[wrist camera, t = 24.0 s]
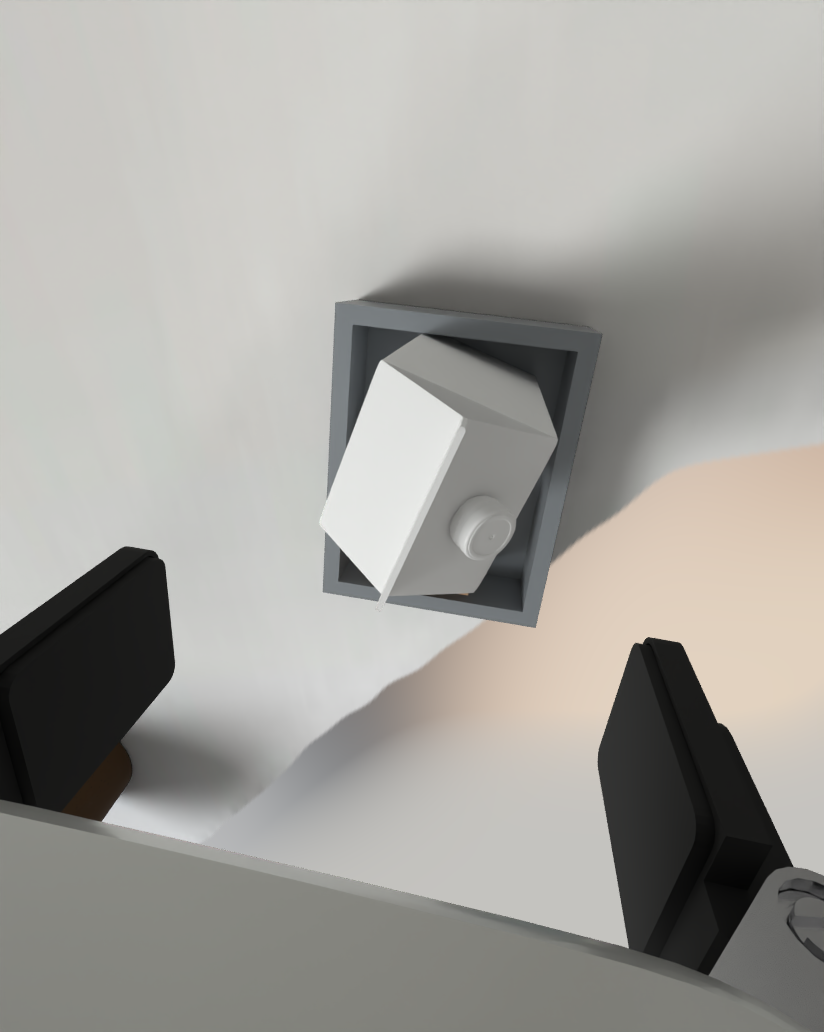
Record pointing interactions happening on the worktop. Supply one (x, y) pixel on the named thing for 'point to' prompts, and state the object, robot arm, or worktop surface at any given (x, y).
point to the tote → (526, 558)
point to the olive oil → (102, 787)
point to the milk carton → (437, 468)
